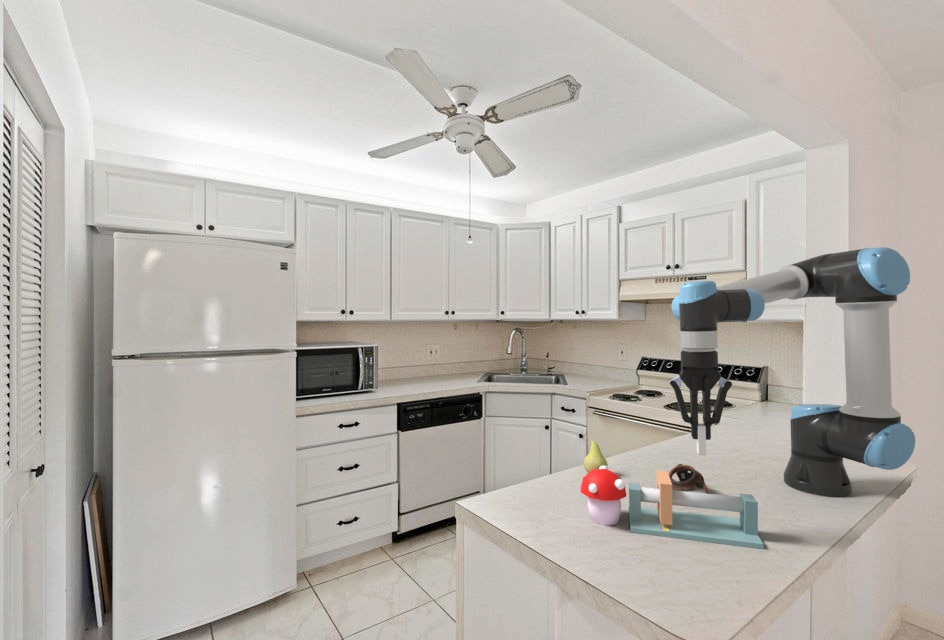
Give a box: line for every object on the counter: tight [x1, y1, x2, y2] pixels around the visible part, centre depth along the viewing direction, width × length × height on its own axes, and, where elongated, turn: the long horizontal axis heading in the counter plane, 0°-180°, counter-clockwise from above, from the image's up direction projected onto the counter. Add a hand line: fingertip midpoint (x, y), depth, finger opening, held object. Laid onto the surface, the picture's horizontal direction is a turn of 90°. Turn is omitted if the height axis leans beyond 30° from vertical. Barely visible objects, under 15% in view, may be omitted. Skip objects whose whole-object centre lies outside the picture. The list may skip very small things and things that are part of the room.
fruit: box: [583, 433, 609, 474], centre depth 137 cm, size 7×8×12 cm
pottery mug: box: [668, 463, 709, 494], centre depth 125 cm, size 12×10×8 cm
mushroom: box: [580, 466, 627, 527], centre depth 108 cm, size 11×11×12 cm
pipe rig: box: [628, 482, 764, 550], centre depth 103 cm, size 26×12×8 cm, turn 73°
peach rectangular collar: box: [656, 470, 673, 525], centre depth 105 cm, size 2×9×9 cm, turn 163°
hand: (701, 453), depth 102 cm, fingers closed
